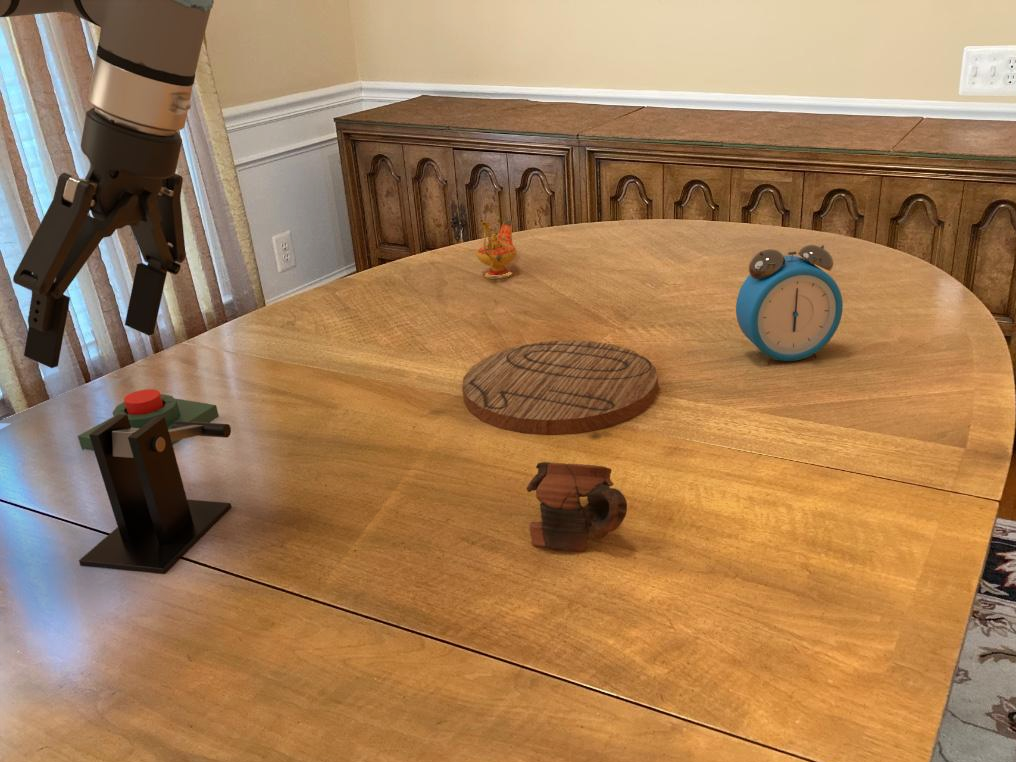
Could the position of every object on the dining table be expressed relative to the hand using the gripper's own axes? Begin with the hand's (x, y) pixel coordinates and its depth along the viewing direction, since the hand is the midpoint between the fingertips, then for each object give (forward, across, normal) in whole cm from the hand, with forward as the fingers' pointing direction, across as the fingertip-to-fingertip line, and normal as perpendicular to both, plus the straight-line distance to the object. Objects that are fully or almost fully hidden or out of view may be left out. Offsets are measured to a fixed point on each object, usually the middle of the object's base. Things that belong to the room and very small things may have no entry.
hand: (93, 344), depth 91 cm
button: (+16, +21, +6) cm, 27 cm away
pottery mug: (+1, +8, -48) cm, 49 cm away
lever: (+9, +4, -7) cm, 12 cm away
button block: (+19, +22, +4) cm, 29 cm away
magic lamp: (0, +87, -15) cm, 88 cm away
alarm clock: (-13, +55, -63) cm, 85 cm away
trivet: (0, +40, -38) cm, 55 cm away
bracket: (+17, +1, -10) cm, 20 cm away
